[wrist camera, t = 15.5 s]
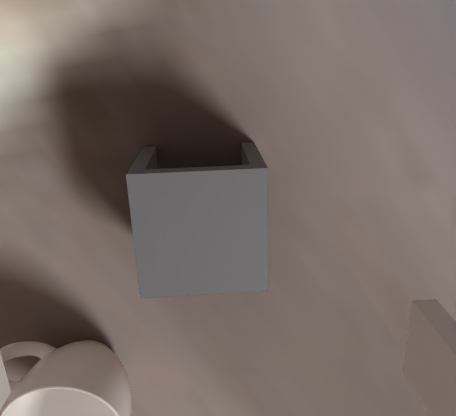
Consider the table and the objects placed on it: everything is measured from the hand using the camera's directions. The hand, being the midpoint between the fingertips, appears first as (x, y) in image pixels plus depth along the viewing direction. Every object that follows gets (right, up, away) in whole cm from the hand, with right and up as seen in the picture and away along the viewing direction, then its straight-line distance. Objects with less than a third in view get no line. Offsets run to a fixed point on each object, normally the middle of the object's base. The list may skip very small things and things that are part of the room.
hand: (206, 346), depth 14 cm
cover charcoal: (-1, +5, +15) cm, 16 cm away
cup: (-11, -7, +19) cm, 23 cm away
